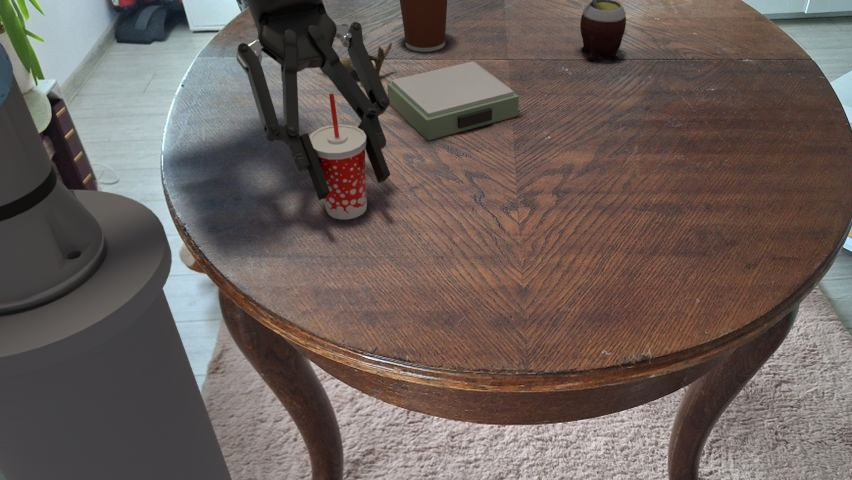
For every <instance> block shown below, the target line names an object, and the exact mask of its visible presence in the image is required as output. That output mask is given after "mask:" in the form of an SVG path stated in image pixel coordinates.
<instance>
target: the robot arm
mask: <svg viewBox="0 0 852 480" xmlns="http://www.w3.org/2000/svg"><path fill="white" fill-rule="evenodd" d="M245 1H246V3H247V6H248V10H249V12H250V15H251V17H252V20H253V22H254V24H255V27H256V30H257V39H256V40H255V41H252V42H250V43H248V44H247V43H246V42H241V43H239V44H238V46H237V50H236V51H237V52H236V61H237V62H238V64H239V66H240V67H241V68H242V70H243V71H244V72H245V74H246V75H247V78H248V81H249V86H250V89H251V92H252V96H253V98H254V99H253V100H254V103H255V105H256V109H257V112H258V116H259V120H260V122H261V126H262V130H263V132H264V136H265V138H266V140H267V141H268V142H270V143H271V142H275V141H277V142H278V141H279V142H283V143H284V144H285V145H286V146H288V149H289V151H290V155H291V157H292V159H293V163H294V164H295V167H296V168H297V170H298V171H299V172H301V171H306V170H307V172H308V173H307V174H308V175H309V179H310V180H311V183H312V186H313V188H314V191H315V194H316V196H317V199H318V201H321V200H324V199H325V198H326V197H327V196H328V194H329V193H330V190H329V188H328V185H327V183H326V180H325V177H324V175H323V172H322V169H321V167H320V164H319V161H318V159H317V156H316V153H315V151H314V148H313V145H312V143H311V140H310V137H309V136H310V134H309V132H305V133H302V134H300V116H299V95H298V93H299V92H298V91H299V90H298V89H299V88H298V73H299V72H302V71H304V70H305V69H316V68H317V69H318V68H319V69H320V71H321V72H322V73H323V75H325V76H327V77H328V79H329V80H330V81H331V82H332V84H333V85H334V87H335V88H336V89H337V90H338V91H339V93H340V95H341V96H342V97H343V98H344V99H345V101H346V102H347V104H348V105H349V106H350V107H351V109H352V110H353V112H354V113H355V114H356V115H357V117H358V118H359V119H360V123H359V124H358V126H357V127H358V128H360V129H361V130H363V131H364V133H365V134H366V137H367V139H366V141H367V144H366V148H365V153H366V155H367V158H368V161H369V162H370V165H371V168H372V170H373V174H374V177H375V179H376V181H377V183H378V184H380V183H383V182H385V181H386V180H387V179H388V178H389V177H390V176H391V172H390V168H389V167H388V164H387V161H386V159H385V156H384V153H383V149H384V148H385V147H386V145H387V138H386V137H385V133H384V131H383V128H382V125H381V123H380V120H379V117H380V116H381V115H383V114H385V112H386V111H387V109H388V108H389V106H390V101H389V98H388V93H387V92H386V90H385V87H384V85H383V83H382V81H381V79H380V75H379V76H378V74H377V72H376V70H375V66H374V65H375V64H374V63H373V60H371V59H370V57H369V55H370V54H369V52H367V51H368V49H367V48H366V45H365V43H364V39H363V27H362V25H361V24H360V23H359V22H357V21H353V22H352V23H351V24H350V25H348V26H344V25H342V24H336V22H335V21H334V19H332V18H331V17H330V16H329V15H328V12H327V10H326V7H325V4H324V1H323V0H245ZM335 38H337V39H338V40H339V41H340V43H341V45H342V46H343V47H344V48H347V54H348V57H349V58H350V59H351V61H352V63H353V65H354V68H353V69H355V72H356V74H357V77H358V78H359V80H360V83H361V85H362V87H363V89H362V88H361V87H360V86H359V84H358V82H357V81H356V80H355V79H354V77H353V76H352V75H351V74H350V72H348V71H347V70H346V68H345V67H344V66H343V64H342V63H341V62H340V56H339V55H338V53H337V52H336V50H335V49H334V48H333V45H334V41H335ZM366 49H367V50H366ZM262 53H264V54H265V55H267V56H268V57H270V58H271V59H272V60H274V61H275V62H277V63H278V64H279V65H280V73H281V74H280V75H281V76H280V77H281V82H282V83H281V85H282V87H281V88H282V108H283V109H282V110H283V111H282V114H283V124H281V125H280V123H279V120H278V117H277V113H276V110H275V107H274V103H273V99H272V96H271V93H270V89H269V86H268V82H267V80H266V75H265V73H264V69H263V66H262V61H263V55H262ZM363 90H364V91H363ZM51 160H52V159H51V158H50V155H49V154H48V151H47V148H46V146H45V144H44V142H43V139H42V137H41V135H40V132H39V130H38V128H37V126H36V123H35V120H34V118H33V116H32V114H31V111H30V108H29V107H28V105H27V102H26V100H25V97H24V95H23V93H22V90H21V88H20V86H19V83H18V81H17V78H16V76H15V74H14V68H13V63H12V61H11V58H10V55H9V53H8V52H7V50H6V48H5V46H4V45H3V44H2V43H1V42H0V316H3V315H10V314H15V313H20V312H24V311H28V310H31V309H34V308H37V307H40V306H43V305H46V304H48V303H51V302H53V301H55V300H57V299H59V298H61V297H63V296H65V295H67V294H69V293H70V292H72V291H74V290H75V289H77V288H78V287H80V286H81V285H82V284H84V283H85V282H86V281H87V280H88V279H90V278H91V277H92V276H93V275H94V274H95V273H96V271H97V270H98V269H99V268H100V266H101V265H102V263H103V261H104V259H105V257H106V254H107V241H106V238H105V236H104V233H103V231H102V229H101V226H100V225H99V223H98V222H97V220H96V219H95V217H94V216H93V215H92V214H91V213H90V212H89V211H88V210H87V209H86V208H85V207H84V206H83V205H82V203H81V202H80V201H79V200H78V199H77V198H76V195H75V193H74V190H75V189H73V188H71V189H68V188H67V186H66V185H64V183H63V182H62V181H61V180H60V178H59V176H58V175H57V173H56V171H55V168H54V165H53V163H52V161H51Z"/></svg>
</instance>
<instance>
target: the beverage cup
mask: <svg viewBox="0 0 852 480" xmlns="http://www.w3.org/2000/svg"><path fill="white" fill-rule="evenodd" d="M328 97H329V104H330V112H331V119H332V120H331V121H332V124H331V125H325V126H322V127H319V128H318V129H315V130H314V131H313V132H312V133H310V134H309V137H310V140H311V143H312V145H313V148H314V151H315V153H316V156H317V159H318V161H319V164H320V167H321V169H322V172H323V175H324V177H325V180H326V183H327V185H328V188H329V190H330V193H329V194H328V196H327V197H326V198H325V199H323V202H324V207H325V211H326V213H327V215H328V216H330V217H331V218H333V219H336V220H351V219H356V218H358V217H361V216H362V215H363V214H364V213H365V212H366V211H367V207H368V198H367V197H368V196H367V195H368V193H367V172H366V171H367V170H366V149H365V148H366V144H367V141H366V139H367V137H366V134H365V133H364V131H363V130H361V129H360V128H358V126H355V125H350V124H339V123H338V116H337V107H336V100H335V99H336V98H335V94H334V93H329V94H328Z"/></svg>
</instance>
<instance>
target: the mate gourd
mask: <svg viewBox="0 0 852 480" xmlns="http://www.w3.org/2000/svg"><path fill="white" fill-rule="evenodd" d="M626 17H627V16H626V11H625V8H624V7H623V5H622V4H621V3H620V2H619V1H616V0H590V1H589V2H588V3H587V4H586V5H585V7H584V8H583V10H582V13H581V17H580V23H579V26H580V27H579V28H580V29H579V30H580V36H581V38H582V46H581V52H582V53H586V54H590V56H589V58H588V62H591V63H593V62H595V61H596V60H598V59H599V58H605V59H608V60H612V61H617V60H618V58H619V56H618V55H617V54H618V52H619V49H620V47H621V44H622V41H623V37H624V34H625V31H626V26H627V18H626Z"/></svg>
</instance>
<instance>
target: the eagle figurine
mask: <svg viewBox="0 0 852 480" xmlns="http://www.w3.org/2000/svg"><path fill="white" fill-rule="evenodd" d="M341 25H344V26H349V25H348V24H346V23H342V24H341ZM392 45H393V43H392V42H390V43H389V44H388V46H387V47H386V48H385V50H384V49H383V48H382V47H381V46H378V50H377V56H373V55H370V54H369V57H370V59H371V61H372V62H374V65H375V66H374V68H375V70H376V72H377V74H378V76H379V77H380V71H381V68H382V66H383V64H384V61H385V59H386V58H387V56H388V54H389V52H390V50H391V48H392ZM366 50H367V52H368V48H366ZM368 53H369V52H368ZM339 59H340V58H339ZM340 62H341V63H342V64H343V66H344V67H345V68H346V70H347V71H348V72H349V73H351V72H352V71H353V70H354V69H355V68H354V65H353V63H352V61H351V59H350V57H348V58H341V59H340Z"/></svg>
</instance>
